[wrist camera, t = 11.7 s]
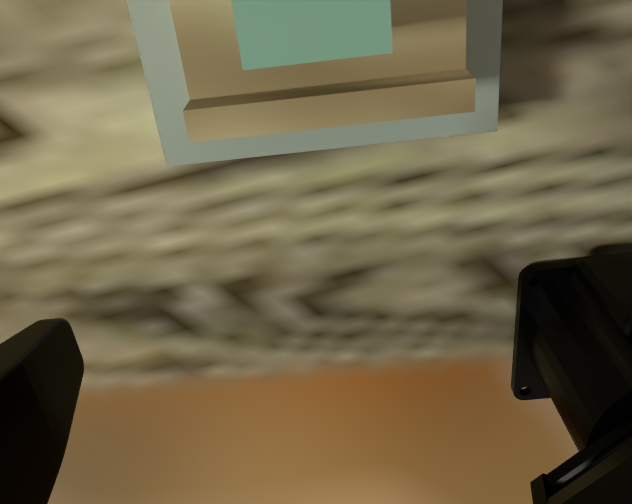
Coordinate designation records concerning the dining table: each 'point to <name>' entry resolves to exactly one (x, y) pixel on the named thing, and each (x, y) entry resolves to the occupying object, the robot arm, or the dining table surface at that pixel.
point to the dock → (172, 97)
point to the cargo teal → (310, 30)
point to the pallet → (322, 75)
